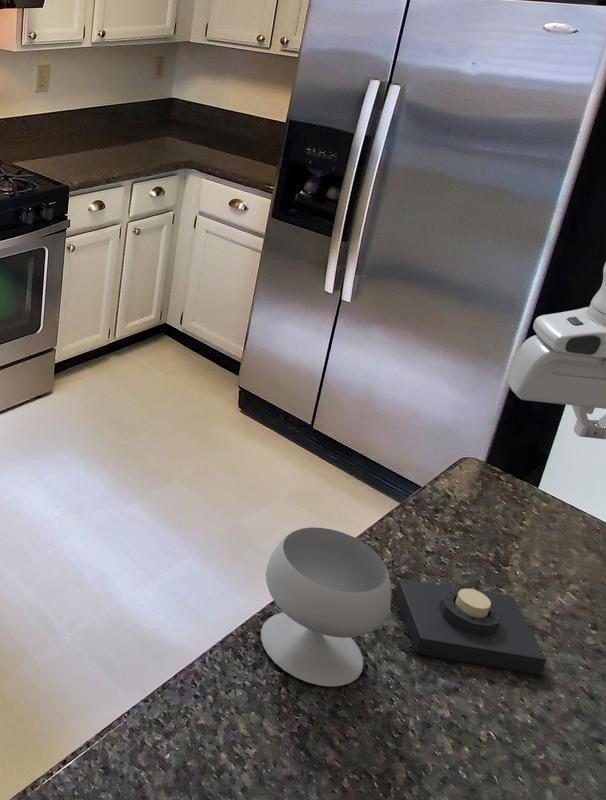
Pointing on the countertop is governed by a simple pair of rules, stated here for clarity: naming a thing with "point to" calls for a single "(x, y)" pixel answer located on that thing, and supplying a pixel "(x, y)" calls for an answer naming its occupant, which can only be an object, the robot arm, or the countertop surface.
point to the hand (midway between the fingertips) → (589, 435)
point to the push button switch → (473, 603)
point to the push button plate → (468, 628)
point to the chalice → (324, 604)
